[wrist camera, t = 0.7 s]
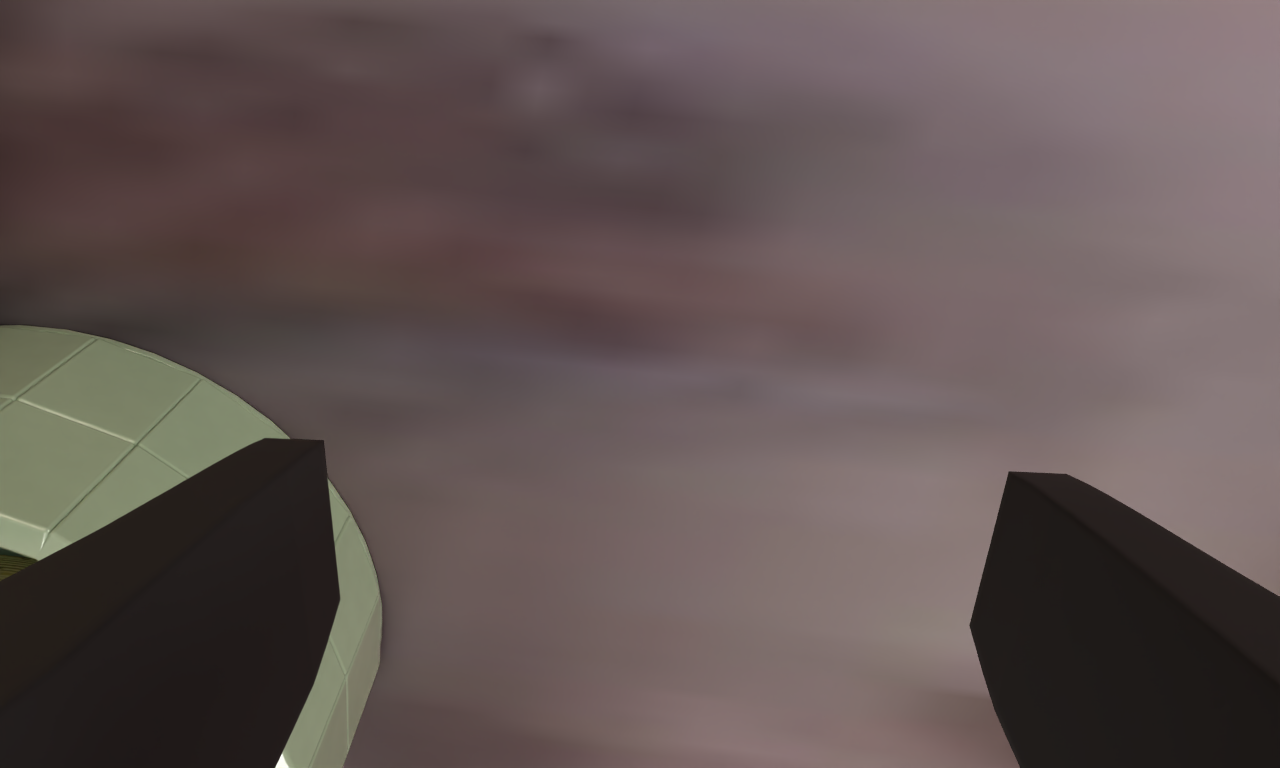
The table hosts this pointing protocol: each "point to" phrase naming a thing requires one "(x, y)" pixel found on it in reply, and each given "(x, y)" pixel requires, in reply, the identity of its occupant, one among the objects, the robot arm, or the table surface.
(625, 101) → the table surface
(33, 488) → the pot
